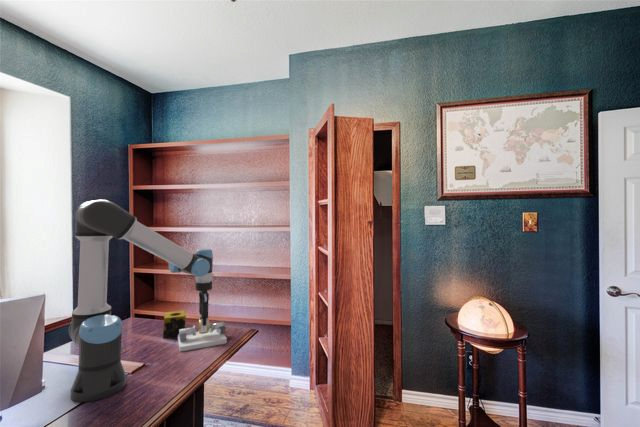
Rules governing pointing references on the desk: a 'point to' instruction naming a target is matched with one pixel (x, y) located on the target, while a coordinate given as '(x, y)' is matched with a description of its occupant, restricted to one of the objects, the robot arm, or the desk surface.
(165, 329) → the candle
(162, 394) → the desk surface
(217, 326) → the shaft out
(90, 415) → the desk surface
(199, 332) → the coupler
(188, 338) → the shaft base
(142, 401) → the desk surface
